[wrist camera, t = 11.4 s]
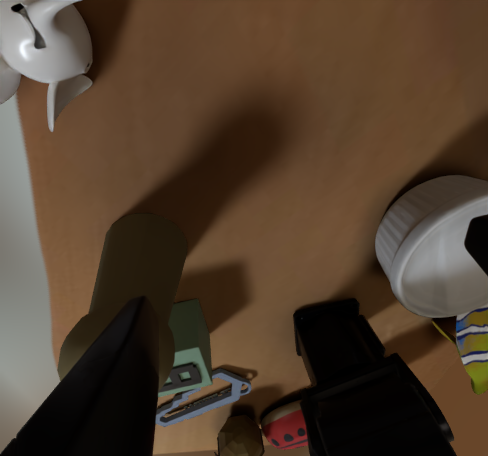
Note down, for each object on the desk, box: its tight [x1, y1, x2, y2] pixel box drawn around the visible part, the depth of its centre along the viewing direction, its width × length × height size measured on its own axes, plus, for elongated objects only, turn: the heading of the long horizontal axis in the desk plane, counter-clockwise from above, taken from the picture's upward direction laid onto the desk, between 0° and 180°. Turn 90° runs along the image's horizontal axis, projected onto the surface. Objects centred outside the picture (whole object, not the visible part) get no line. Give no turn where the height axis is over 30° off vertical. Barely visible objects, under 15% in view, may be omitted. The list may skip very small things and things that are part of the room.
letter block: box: [158, 299, 213, 397], centre depth 24 cm, size 5×5×5 cm
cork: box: [58, 213, 187, 390], centre depth 17 cm, size 6×6×11 cm
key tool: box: [156, 368, 251, 427], centre depth 32 cm, size 12×1×5 cm
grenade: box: [214, 415, 264, 456], centre depth 36 cm, size 6×6×12 cm
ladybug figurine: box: [261, 400, 308, 450], centre depth 36 cm, size 7×10×4 cm
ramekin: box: [375, 175, 488, 318], centre depth 22 cm, size 11×11×5 cm
